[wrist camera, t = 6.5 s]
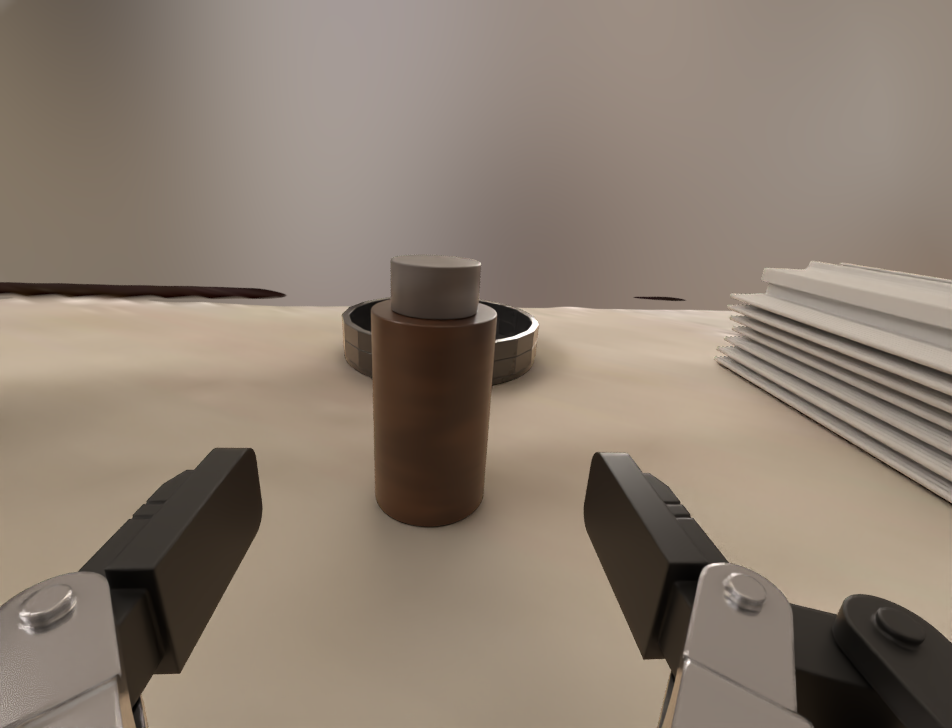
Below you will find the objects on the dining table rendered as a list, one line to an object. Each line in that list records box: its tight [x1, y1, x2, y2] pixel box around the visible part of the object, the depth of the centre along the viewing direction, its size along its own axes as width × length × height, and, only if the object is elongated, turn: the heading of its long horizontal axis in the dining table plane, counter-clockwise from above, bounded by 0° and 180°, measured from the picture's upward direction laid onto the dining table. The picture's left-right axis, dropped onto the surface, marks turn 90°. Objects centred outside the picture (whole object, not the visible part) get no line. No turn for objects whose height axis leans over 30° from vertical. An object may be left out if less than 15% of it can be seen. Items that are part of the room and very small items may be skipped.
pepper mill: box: [371, 255, 497, 527], centre depth 20 cm, size 5×5×11 cm
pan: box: [342, 297, 539, 385], centre depth 40 cm, size 17×17×4 cm
